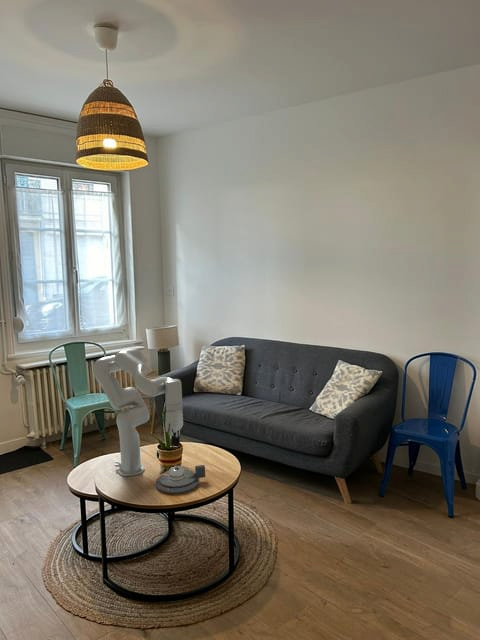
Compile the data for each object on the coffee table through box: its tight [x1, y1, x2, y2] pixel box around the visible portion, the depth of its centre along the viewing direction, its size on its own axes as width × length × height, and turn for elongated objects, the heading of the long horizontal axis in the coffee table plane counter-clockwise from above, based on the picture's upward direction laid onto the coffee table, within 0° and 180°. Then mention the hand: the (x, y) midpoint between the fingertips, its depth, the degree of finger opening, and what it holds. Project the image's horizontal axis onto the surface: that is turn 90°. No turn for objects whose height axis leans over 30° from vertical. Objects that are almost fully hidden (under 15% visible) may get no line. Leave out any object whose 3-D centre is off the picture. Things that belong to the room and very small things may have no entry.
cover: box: [168, 465, 185, 481], centre depth 221 cm, size 8×8×4 cm
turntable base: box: [155, 477, 200, 495], centre depth 222 cm, size 20×20×2 cm
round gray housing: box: [158, 464, 206, 488], centre depth 221 cm, size 20×17×5 cm
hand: (176, 444), depth 220 cm, fingers closed
